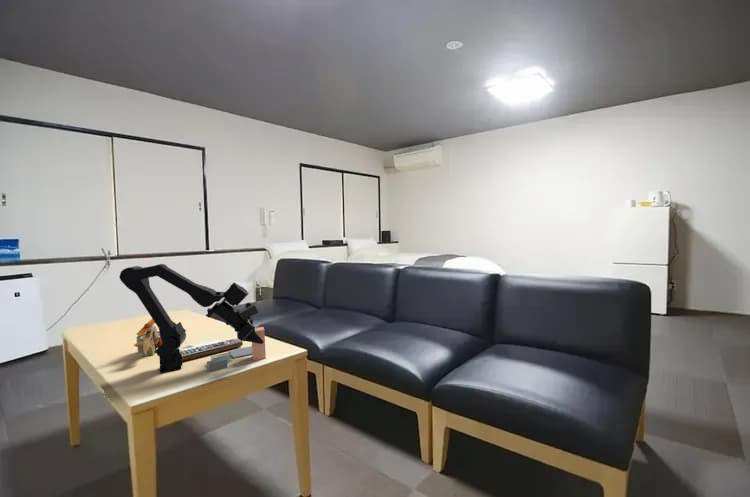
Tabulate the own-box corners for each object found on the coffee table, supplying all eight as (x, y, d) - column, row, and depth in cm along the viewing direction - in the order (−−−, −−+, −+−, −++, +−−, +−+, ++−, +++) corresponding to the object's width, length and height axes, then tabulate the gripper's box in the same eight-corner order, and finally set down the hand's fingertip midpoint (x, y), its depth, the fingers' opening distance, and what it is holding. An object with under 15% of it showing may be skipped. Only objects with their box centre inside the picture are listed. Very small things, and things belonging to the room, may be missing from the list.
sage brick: (213, 366, 127) (212, 358, 127) (211, 364, 130) (210, 356, 129) (230, 362, 131) (230, 354, 131) (228, 360, 133) (228, 352, 133)
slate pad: (233, 358, 134) (233, 357, 134) (228, 352, 141) (228, 350, 141) (262, 352, 140) (262, 351, 140) (256, 346, 147) (256, 345, 147)
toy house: (167, 346, 151) (165, 315, 150) (155, 364, 131) (152, 327, 130) (145, 349, 148) (143, 317, 147) (129, 367, 128) (126, 330, 127)
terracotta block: (253, 360, 132) (251, 331, 131) (252, 356, 136) (251, 328, 135) (265, 358, 133) (264, 329, 133) (264, 354, 138) (263, 326, 137)
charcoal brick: (209, 372, 122) (208, 364, 122) (207, 370, 124) (206, 361, 124) (227, 367, 126) (227, 359, 125) (224, 365, 128) (224, 357, 128)
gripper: (245, 302, 123) (279, 328, 128) (243, 293, 140) (273, 317, 145) (222, 327, 121) (258, 353, 125) (223, 315, 138) (254, 339, 143)
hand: (261, 339), depth 135 cm, fingers open, 9 cm apart
